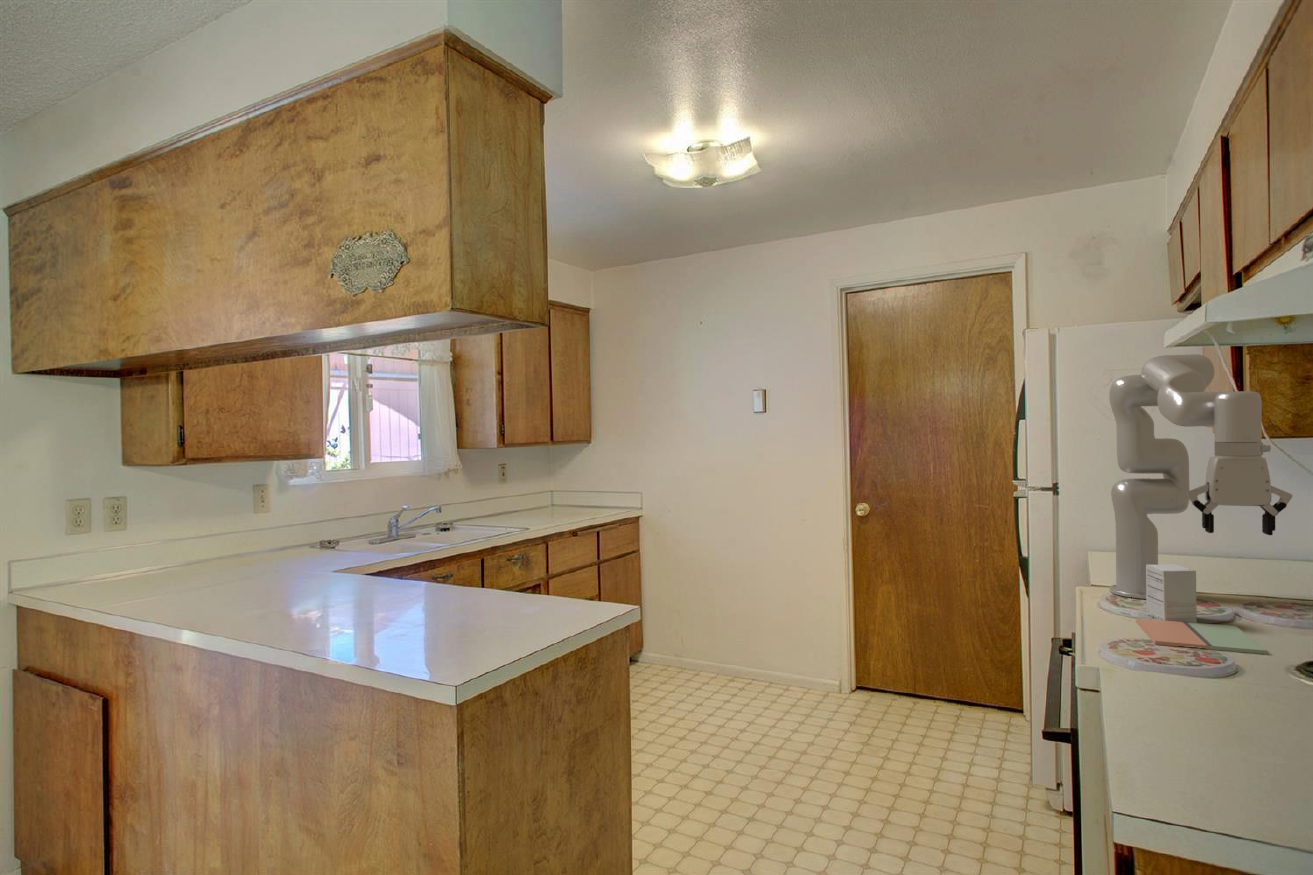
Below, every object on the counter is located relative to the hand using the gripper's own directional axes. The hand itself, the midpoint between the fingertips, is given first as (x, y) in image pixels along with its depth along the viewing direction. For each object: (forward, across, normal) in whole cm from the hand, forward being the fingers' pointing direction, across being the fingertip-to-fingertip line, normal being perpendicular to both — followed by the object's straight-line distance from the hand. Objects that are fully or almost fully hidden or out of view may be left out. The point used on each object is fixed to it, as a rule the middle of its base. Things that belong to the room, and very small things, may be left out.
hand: (1238, 533), depth 145 cm
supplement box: (+25, +7, -21) cm, 33 cm away
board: (+24, +5, -7) cm, 26 cm away
